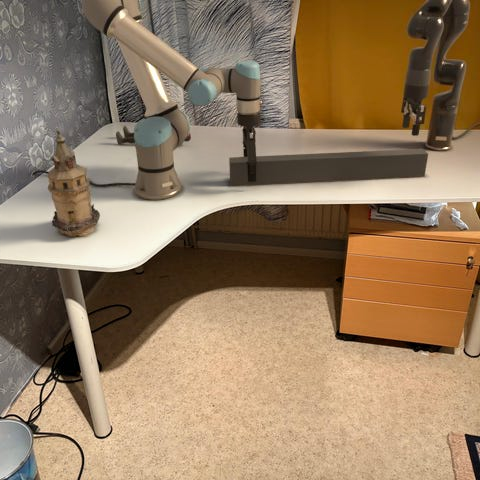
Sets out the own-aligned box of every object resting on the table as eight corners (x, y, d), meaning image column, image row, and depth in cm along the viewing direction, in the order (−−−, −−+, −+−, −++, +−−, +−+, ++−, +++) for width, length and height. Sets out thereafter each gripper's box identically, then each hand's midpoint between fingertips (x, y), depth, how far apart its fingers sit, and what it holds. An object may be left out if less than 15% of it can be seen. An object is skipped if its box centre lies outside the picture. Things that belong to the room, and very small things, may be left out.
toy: (131, 119, 231) (198, 119, 225) (133, 133, 234) (199, 134, 228) (106, 139, 209) (180, 139, 203) (109, 154, 212) (182, 155, 206)
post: (230, 186, 181) (230, 162, 177) (229, 180, 185) (229, 157, 181) (424, 176, 186) (428, 153, 182) (419, 171, 190) (422, 148, 186)
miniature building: (80, 214, 164) (63, 117, 149) (111, 225, 157) (96, 125, 142) (44, 231, 154) (22, 130, 140) (75, 244, 147) (55, 139, 133)
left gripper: (265, 122, 161) (265, 187, 171) (255, 101, 183) (256, 160, 193) (240, 124, 160) (242, 189, 171) (233, 102, 182) (235, 161, 193)
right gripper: (437, 87, 166) (429, 137, 174) (420, 76, 178) (413, 124, 186) (414, 88, 165) (406, 138, 173) (398, 77, 178) (392, 125, 186)
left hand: (249, 173), depth 182 cm, fingers open, 13 cm apart
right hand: (410, 131), depth 180 cm, fingers open, 8 cm apart
